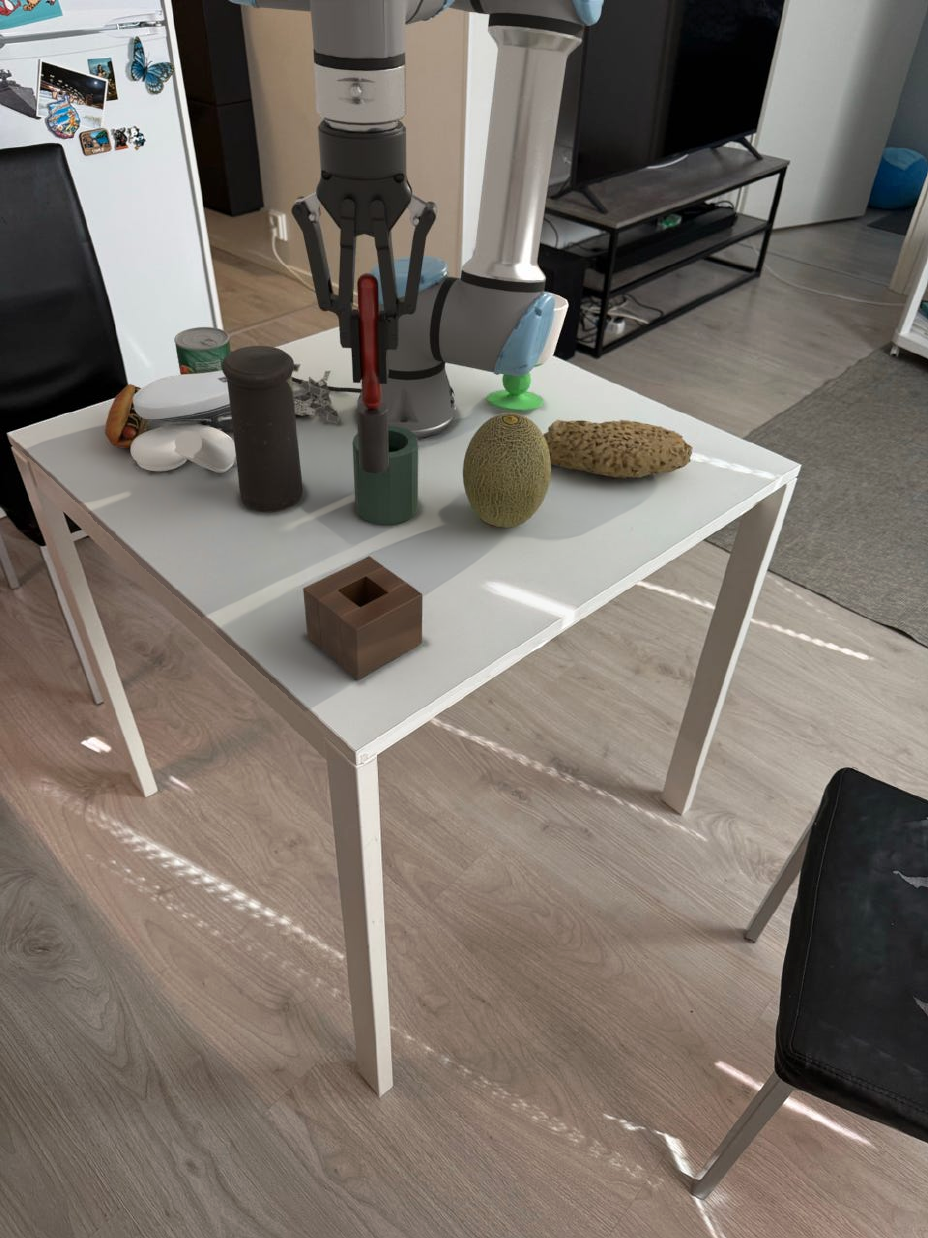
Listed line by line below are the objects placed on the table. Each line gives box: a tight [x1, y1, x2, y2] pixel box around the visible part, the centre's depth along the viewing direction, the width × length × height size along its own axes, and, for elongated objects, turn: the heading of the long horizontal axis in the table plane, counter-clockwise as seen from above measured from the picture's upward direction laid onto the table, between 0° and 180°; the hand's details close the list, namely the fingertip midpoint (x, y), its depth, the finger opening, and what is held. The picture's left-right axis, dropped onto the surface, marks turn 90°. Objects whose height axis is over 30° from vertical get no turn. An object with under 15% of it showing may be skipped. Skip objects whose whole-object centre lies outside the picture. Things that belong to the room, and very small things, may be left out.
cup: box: [486, 292, 569, 412], centre depth 141 cm, size 14×14×16 cm
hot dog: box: [104, 383, 150, 449], centre depth 131 cm, size 5×13×5 cm
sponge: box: [543, 419, 693, 479], centre depth 129 cm, size 13×8×20 cm
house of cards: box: [292, 363, 340, 425], centre depth 137 cm, size 9×9×8 cm
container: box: [222, 345, 303, 513], centre depth 115 cm, size 9×9×20 cm
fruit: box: [462, 412, 552, 529], centre depth 115 cm, size 11×11×15 cm
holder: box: [302, 555, 424, 681], centre depth 98 cm, size 9×9×7 cm
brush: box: [356, 272, 389, 473], centre depth 92 cm, size 3×3×21 cm
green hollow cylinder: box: [352, 426, 419, 526], centre depth 118 cm, size 8×8×10 cm
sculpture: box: [130, 423, 236, 474], centre depth 125 cm, size 12×15×8 cm
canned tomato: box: [173, 326, 232, 375], centre depth 137 cm, size 8×8×11 cm
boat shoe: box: [133, 370, 233, 432], centre depth 132 cm, size 24×9×8 cm, turn 136°
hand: (371, 376), depth 92 cm, fingers closed on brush, 2 cm apart
